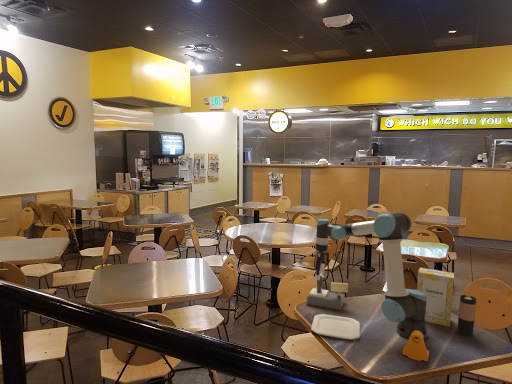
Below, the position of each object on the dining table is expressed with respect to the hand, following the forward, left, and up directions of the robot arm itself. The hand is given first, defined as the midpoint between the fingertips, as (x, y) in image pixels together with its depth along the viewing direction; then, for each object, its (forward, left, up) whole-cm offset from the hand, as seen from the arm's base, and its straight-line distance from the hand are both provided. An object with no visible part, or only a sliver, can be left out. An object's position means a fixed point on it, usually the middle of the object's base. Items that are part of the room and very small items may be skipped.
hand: (319, 276), depth 232 cm
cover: (0, 0, -11) cm, 11 cm away
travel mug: (-8, -81, -17) cm, 83 cm away
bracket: (-45, -55, -17) cm, 73 cm away
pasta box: (+4, -66, -17) cm, 68 cm away
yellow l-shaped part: (+3, -12, -11) cm, 17 cm away
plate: (-33, -16, -17) cm, 41 cm away
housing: (0, -5, -16) cm, 17 cm away
